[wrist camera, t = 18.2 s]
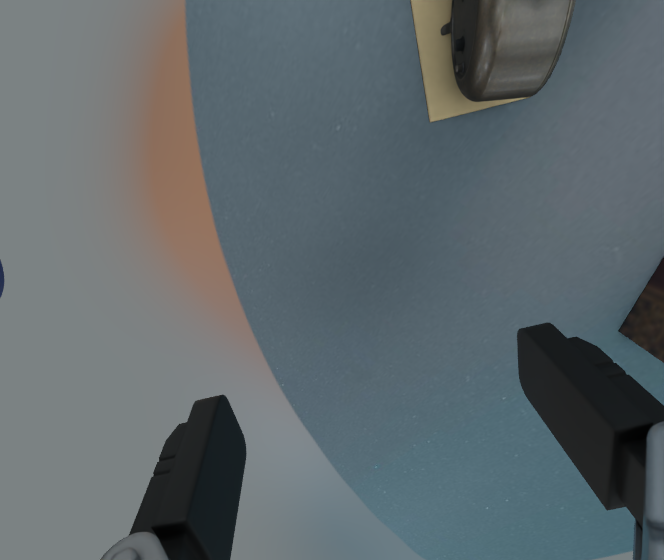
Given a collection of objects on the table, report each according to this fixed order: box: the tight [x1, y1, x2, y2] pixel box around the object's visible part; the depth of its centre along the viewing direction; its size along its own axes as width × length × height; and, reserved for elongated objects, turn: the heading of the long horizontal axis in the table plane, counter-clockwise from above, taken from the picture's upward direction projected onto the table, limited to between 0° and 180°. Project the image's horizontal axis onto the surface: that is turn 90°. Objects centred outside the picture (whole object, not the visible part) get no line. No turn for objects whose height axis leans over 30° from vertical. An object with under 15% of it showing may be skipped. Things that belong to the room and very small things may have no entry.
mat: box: [410, 0, 529, 122], centre depth 32 cm, size 8×12×1 cm, turn 14°
